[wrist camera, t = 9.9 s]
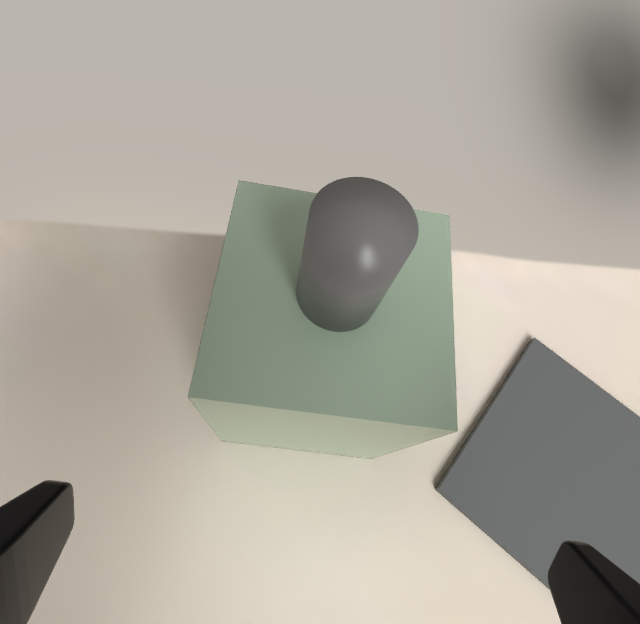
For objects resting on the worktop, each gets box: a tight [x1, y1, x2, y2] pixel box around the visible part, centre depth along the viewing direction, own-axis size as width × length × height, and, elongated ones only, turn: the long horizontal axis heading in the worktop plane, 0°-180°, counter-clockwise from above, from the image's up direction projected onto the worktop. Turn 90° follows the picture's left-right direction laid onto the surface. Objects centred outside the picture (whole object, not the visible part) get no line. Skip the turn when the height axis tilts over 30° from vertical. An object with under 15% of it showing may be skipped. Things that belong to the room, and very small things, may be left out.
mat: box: [435, 338, 640, 589], centre depth 20 cm, size 10×10×1 cm
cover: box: [188, 177, 458, 459], centre depth 15 cm, size 7×7×13 cm
